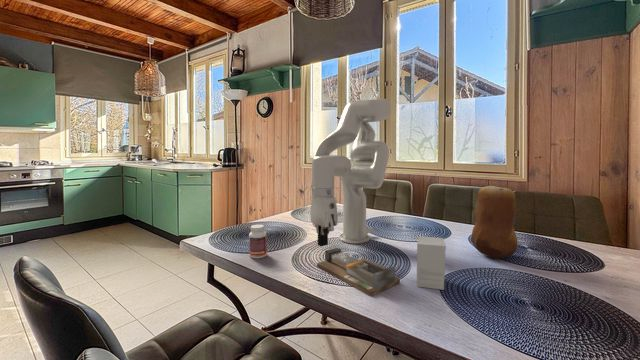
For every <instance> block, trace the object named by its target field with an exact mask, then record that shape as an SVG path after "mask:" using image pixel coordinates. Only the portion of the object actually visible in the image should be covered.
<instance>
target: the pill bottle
mask: <svg viewBox="0 0 640 360" xmlns="http://www.w3.org/2000/svg"><path fill="white" fill-rule="evenodd" d="M248 243H249V246H248V247H249V256H250V258H252V259H263V258H265V257H267V255H268V245H267V243H268V242H267V232H266V231H265V226H264V224H253V225H251V226H250V232H249V234H248Z"/></svg>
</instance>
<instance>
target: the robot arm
mask: <svg viewBox="0 0 640 360" xmlns="http://www.w3.org/2000/svg"><path fill="white" fill-rule="evenodd" d="M391 112H392V107H391V103H390V101H389V100H388V99H387V98H377V99H362V100H361V99H360V100H353V101H349V102H348V103H347V104H346V105H345V106H344V109H343V111H342V114H341V115H340V118H339V121H338V123H337V126H336V129H335V130H334V131H332V133H330V134H329V135H328V136H327V137H326V138H324V139H323V140H322V141H321V142H320V143H319V144H318V146H317V148H316V149H315V152H314V155H313V157H312V162H311V169H312V170H311V173H312V174H311V176H312V179H311V185H312V186H311V202H310V212H309V213H310V217H309V218H310V222H311V223H312V225H313V227H314V228H315V229H316V234H317V245H318V246H320V247H324V246H327V245H328V244H329V234H330V232H333V231H335V227H336V226H338V222H339V220H338V205H337V199H336V196H335V177H338V178H339V177H340V181H341V186H342V195H343V196H342V216H343V217H342V218H343V219H342V221H343V222H342V233H341V234H339V240H340V241H341V242H343V243H347V244H351V245H352V244H353V245H354V244H357V245H358V244H365V243H367V242H369V241H370V239H371V238H370V235H369V233H372V232H374V229H375V228H374V227H373V226H370V227H367V196H366V193H365V192H364V190H363V189H372V190H373V189H375V190H376V189H379V188H381V187H382V185H383V183H384V180H385V175H386V170H387V167H388V162H389V158H390V157H389V154H390V150H389V146H388V144H387V143H386V142H385V141H381V140H375V138H376V131H375V129H374V128H373V127H372V125H371V124H370V123H375V122H376V123H377V122H382V121H385V120H387V119H388V118H389V117H390V116H391ZM349 144H352V146H351V149H350V155H349V158H350V159H349V158H348V157H347V156H345V155H335V154H333V155H331V154H332V153H333V152H335V151H336V150H338V149H341V148H343V147H344V146H347V145H349ZM352 162H353V163H352Z"/></svg>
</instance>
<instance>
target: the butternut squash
mask: <svg viewBox="0 0 640 360" xmlns="http://www.w3.org/2000/svg"><path fill="white" fill-rule="evenodd" d="M476 198H477V202H476V209H475V212H474V214H475V217H476V220H475V224H474V226H473V228H472V230H471V231H472V232H471V238H470V241H471V243H472V245H473V246H474V248H475V249H476V250H477V251H478V252H479V253H480V254H482V255H484V256H488V257H490V258H491V259H493V260H494V259H496V260H501V259H506V258H509V257H511V256H513V255H514V254H515V253H516V251H517V248H518V238H517V234H516V231H515V229H514V220H515V215H516V213H517V212H516V195H515V193H514V191H513V190H512V189H510V188H508V187H500V186H496V185H488V186H483V187H482V188H480V189H479V191H478V193H477V197H476Z"/></svg>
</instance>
